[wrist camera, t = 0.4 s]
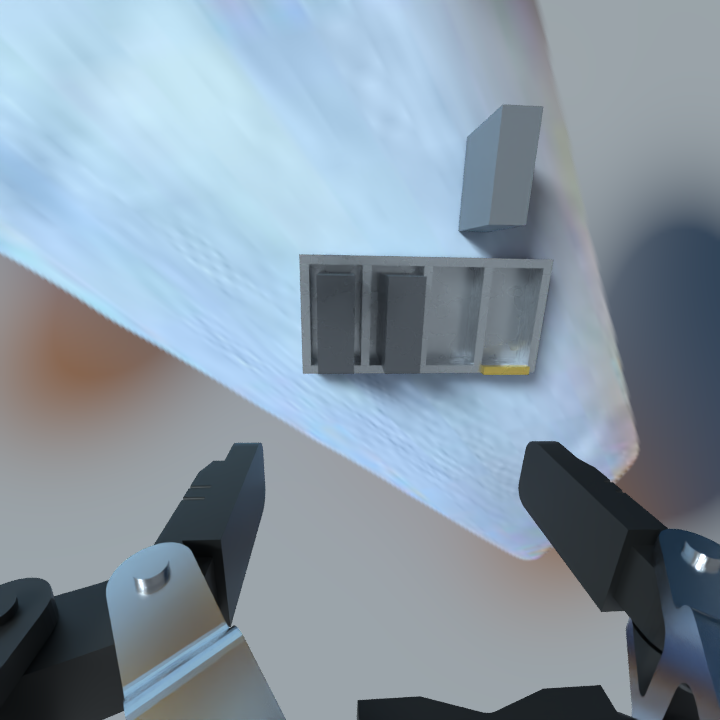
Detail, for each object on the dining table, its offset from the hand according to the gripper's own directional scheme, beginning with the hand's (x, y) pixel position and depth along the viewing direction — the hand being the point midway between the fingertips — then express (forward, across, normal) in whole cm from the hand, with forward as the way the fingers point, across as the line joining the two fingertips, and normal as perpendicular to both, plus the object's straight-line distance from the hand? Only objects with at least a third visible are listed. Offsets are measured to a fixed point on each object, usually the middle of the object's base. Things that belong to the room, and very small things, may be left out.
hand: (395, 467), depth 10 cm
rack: (+26, -7, 0) cm, 27 cm away
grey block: (+26, -12, -12) cm, 31 cm away
